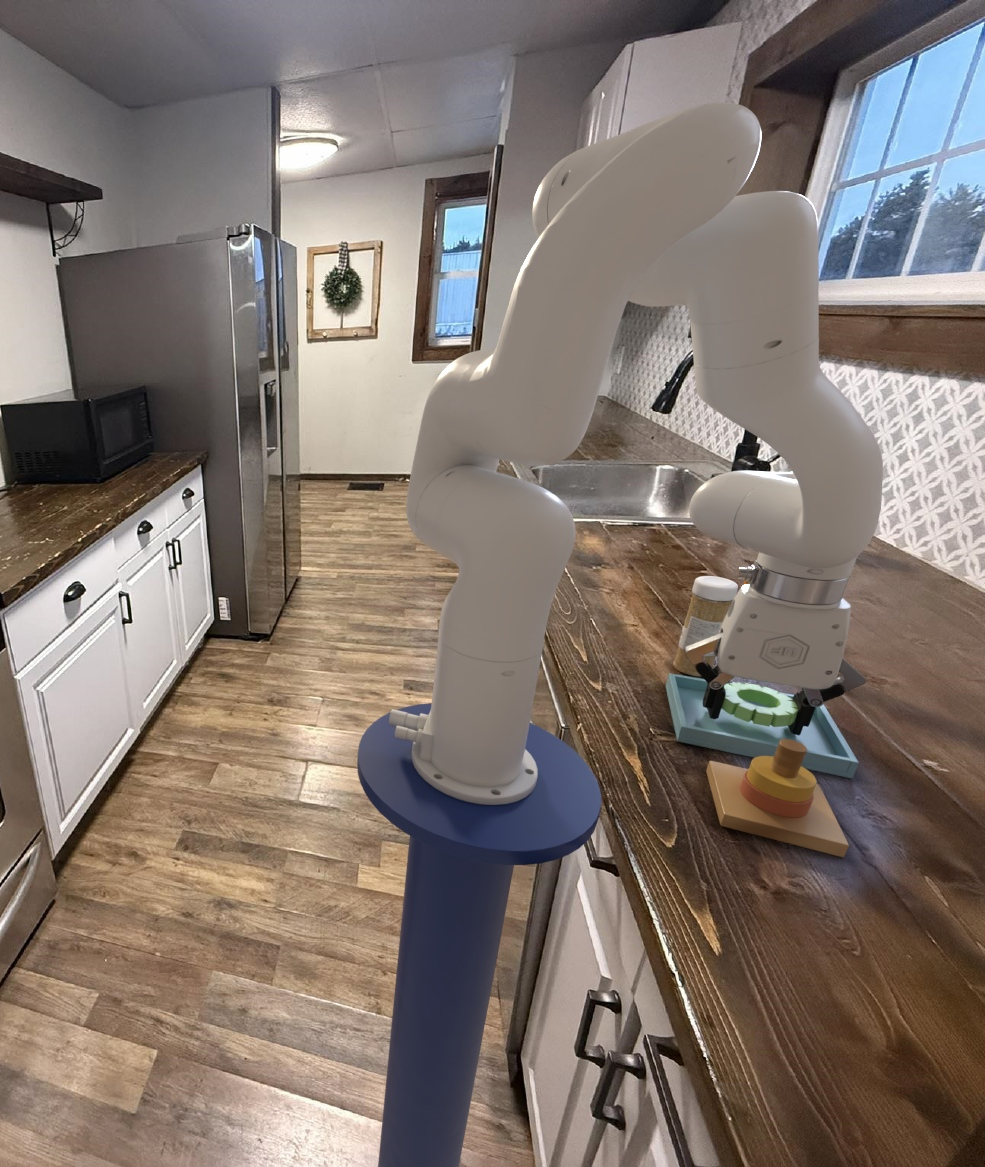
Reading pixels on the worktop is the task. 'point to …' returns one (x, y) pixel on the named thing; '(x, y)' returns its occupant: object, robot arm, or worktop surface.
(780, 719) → the ring
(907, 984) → the worktop surface
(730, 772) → the stand
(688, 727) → the tray
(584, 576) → the worktop surface
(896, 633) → the worktop surface
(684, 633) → the sprinkles bottle
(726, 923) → the worktop surface
